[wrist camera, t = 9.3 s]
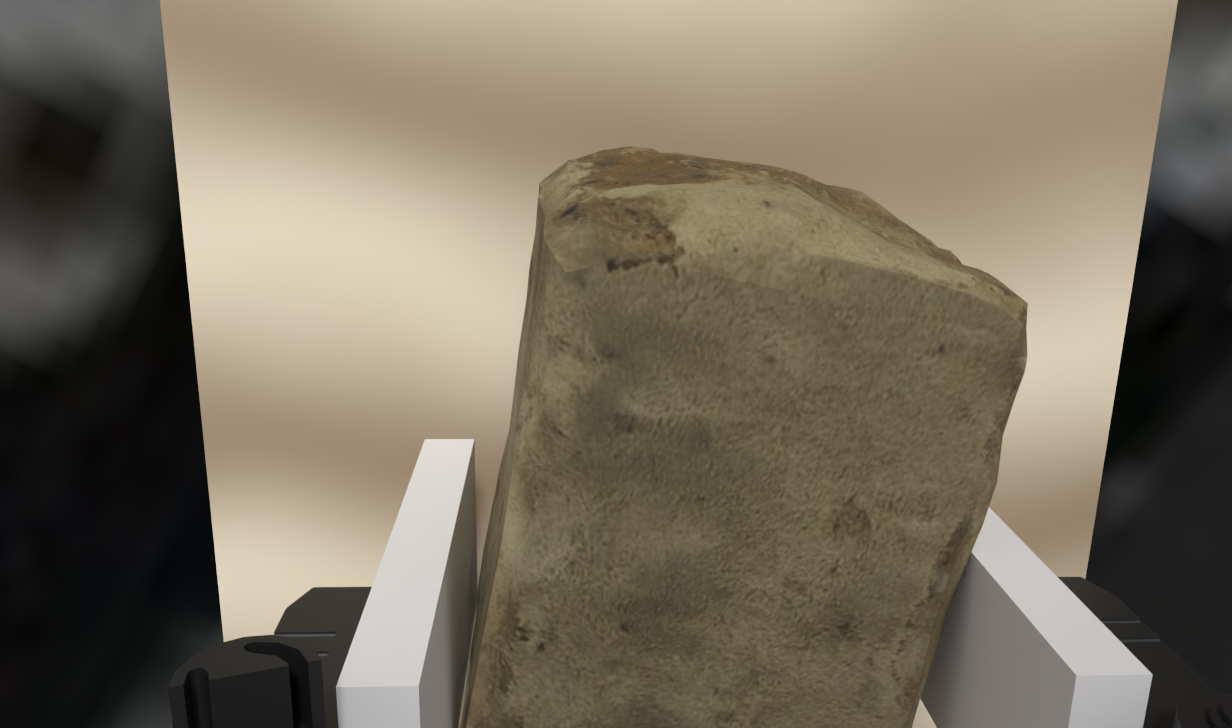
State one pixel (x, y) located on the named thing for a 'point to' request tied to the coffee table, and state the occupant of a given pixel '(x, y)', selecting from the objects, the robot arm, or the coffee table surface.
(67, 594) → the coffee table surface
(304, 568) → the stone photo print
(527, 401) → the stone block
